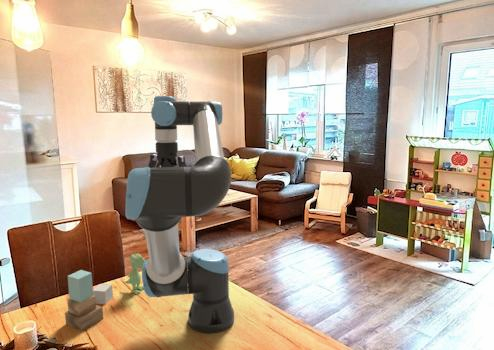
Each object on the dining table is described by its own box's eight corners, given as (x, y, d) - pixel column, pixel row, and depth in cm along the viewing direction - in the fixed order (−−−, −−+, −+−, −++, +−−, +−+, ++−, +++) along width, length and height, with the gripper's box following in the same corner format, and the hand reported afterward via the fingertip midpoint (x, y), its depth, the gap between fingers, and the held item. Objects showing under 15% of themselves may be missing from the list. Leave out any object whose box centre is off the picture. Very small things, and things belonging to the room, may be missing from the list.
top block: (96, 308, 116) (95, 295, 116) (79, 317, 111) (78, 304, 111) (85, 303, 120) (84, 291, 119) (68, 311, 115) (67, 298, 114)
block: (112, 297, 132) (112, 284, 131) (105, 304, 127) (104, 291, 126) (100, 296, 133) (99, 283, 132) (92, 303, 128) (91, 290, 127)
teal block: (93, 295, 116) (91, 272, 114) (80, 302, 111) (78, 279, 110) (82, 292, 118) (81, 269, 117) (69, 299, 114) (67, 275, 112)
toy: (148, 292, 135) (146, 255, 133) (126, 297, 132) (125, 258, 129) (143, 284, 142) (142, 249, 139) (123, 289, 138) (121, 252, 135)
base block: (103, 319, 118) (102, 307, 117) (81, 332, 111) (80, 319, 110) (87, 313, 122) (86, 301, 121) (66, 325, 115) (64, 312, 114)
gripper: (202, 142, 120) (203, 202, 124) (147, 139, 132) (150, 194, 136) (188, 143, 114) (189, 207, 118) (132, 140, 126) (135, 198, 129)
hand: (168, 200), depth 127 cm, fingers open, 13 cm apart
